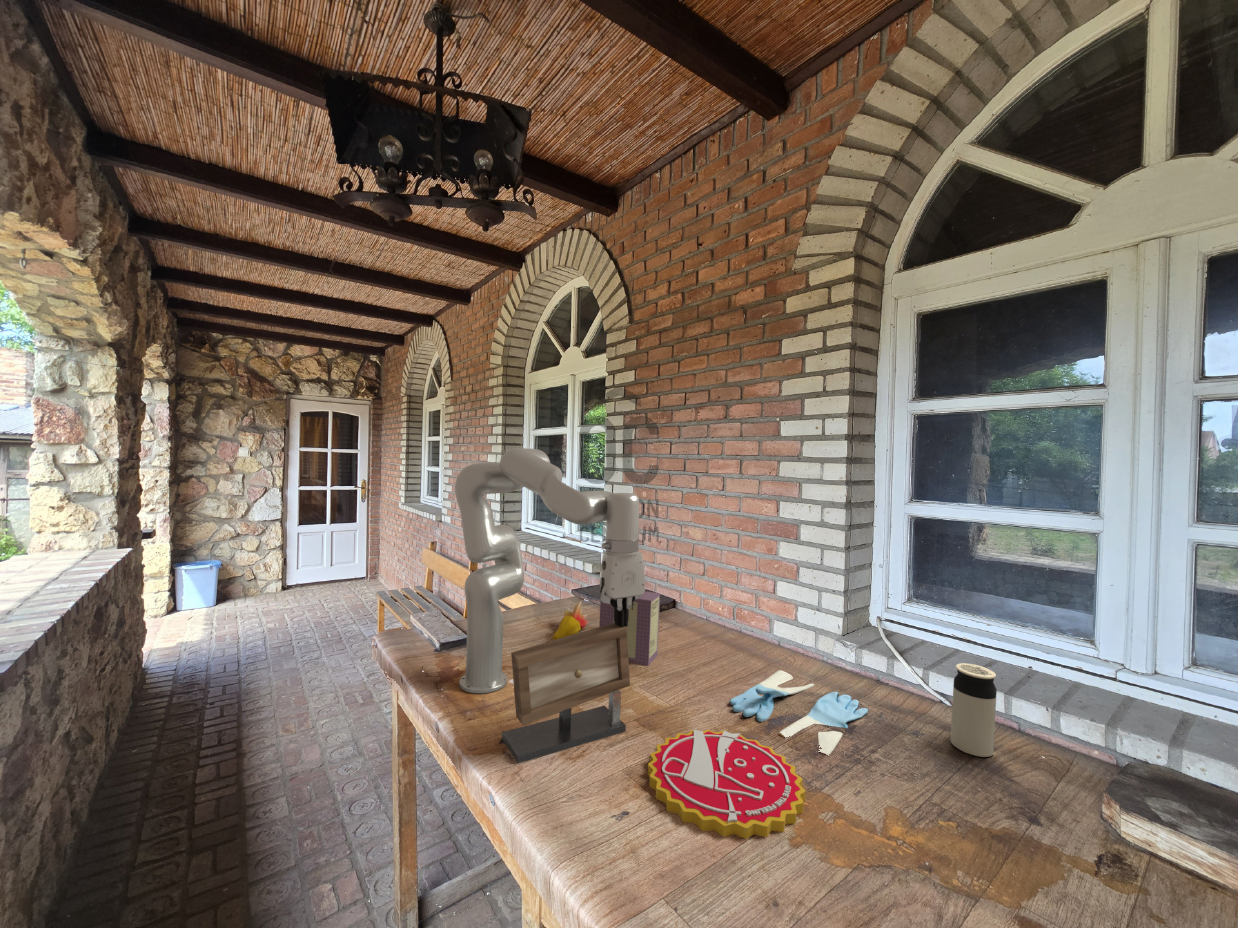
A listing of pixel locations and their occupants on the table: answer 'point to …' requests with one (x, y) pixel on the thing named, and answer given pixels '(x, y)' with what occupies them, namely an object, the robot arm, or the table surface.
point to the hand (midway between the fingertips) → (621, 625)
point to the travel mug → (973, 710)
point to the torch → (571, 622)
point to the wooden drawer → (569, 671)
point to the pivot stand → (565, 731)
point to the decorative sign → (726, 783)
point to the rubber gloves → (823, 712)
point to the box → (639, 627)
